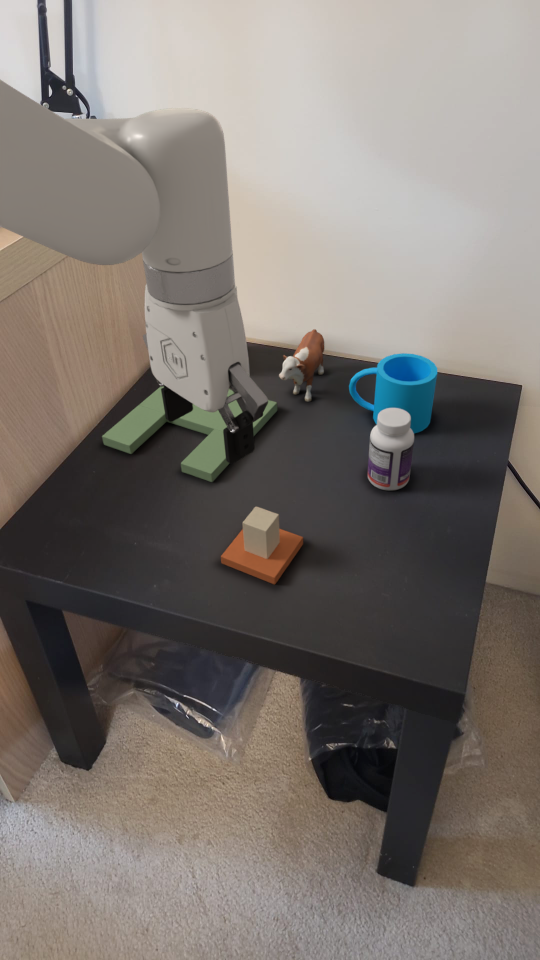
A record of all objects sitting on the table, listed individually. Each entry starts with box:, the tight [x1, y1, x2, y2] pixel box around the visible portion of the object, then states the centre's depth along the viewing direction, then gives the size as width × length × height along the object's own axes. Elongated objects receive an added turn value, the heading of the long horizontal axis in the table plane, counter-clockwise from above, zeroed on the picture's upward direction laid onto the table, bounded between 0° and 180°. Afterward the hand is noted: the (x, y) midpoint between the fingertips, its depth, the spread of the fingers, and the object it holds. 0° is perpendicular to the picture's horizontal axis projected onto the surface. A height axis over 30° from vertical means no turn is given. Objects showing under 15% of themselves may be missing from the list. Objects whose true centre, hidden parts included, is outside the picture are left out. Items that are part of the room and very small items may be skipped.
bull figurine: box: [278, 328, 326, 402], centre depth 102 cm, size 4×13×8 cm, turn 158°
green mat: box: [101, 386, 278, 483], centre depth 98 cm, size 18×18×2 cm
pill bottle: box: [367, 408, 415, 491], centre depth 85 cm, size 5×5×10 cm
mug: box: [348, 352, 438, 435], centre depth 96 cm, size 12×8×8 cm
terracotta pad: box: [220, 506, 304, 585], centre depth 77 cm, size 7×7×6 cm
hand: (209, 435), depth 69 cm, fingers open, 9 cm apart
